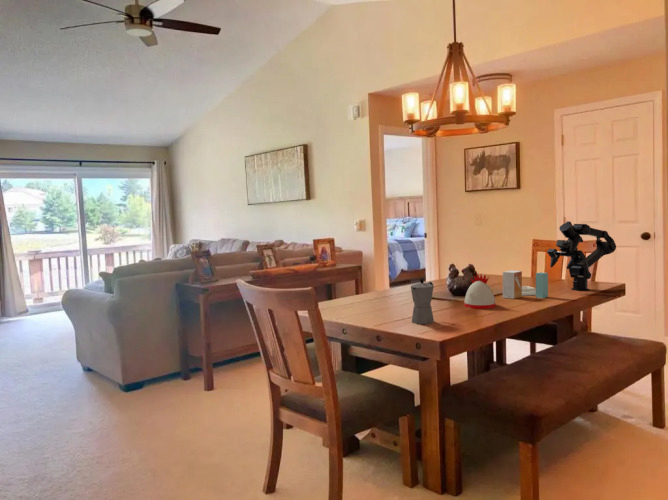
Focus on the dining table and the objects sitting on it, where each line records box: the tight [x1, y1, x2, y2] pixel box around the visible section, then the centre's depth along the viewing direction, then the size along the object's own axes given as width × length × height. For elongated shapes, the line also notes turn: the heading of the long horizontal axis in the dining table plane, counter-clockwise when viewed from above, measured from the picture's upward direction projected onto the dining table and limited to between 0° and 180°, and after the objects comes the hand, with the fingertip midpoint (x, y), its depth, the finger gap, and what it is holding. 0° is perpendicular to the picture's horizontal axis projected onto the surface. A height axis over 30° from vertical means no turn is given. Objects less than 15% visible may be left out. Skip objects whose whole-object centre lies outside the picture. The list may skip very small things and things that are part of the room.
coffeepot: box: [410, 277, 435, 325], centre depth 214 cm, size 15×9×18 cm, turn 141°
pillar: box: [535, 271, 549, 299], centre depth 256 cm, size 4×4×12 cm
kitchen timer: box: [463, 273, 496, 310], centre depth 241 cm, size 14×14×15 cm
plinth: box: [522, 285, 536, 297], centre depth 269 cm, size 12×12×3 cm
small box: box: [502, 269, 523, 300], centre depth 259 cm, size 8×6×13 cm
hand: (559, 267), depth 263 cm, fingers open, 9 cm apart
